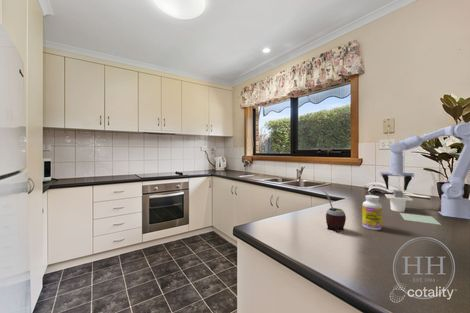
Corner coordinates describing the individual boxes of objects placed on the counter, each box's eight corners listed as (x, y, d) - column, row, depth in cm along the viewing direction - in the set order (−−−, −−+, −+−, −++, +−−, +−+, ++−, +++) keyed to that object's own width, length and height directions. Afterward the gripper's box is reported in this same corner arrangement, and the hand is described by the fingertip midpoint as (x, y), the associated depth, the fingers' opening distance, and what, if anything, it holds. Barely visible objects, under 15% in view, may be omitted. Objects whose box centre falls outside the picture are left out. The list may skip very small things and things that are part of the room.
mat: (432, 217, 96) (432, 216, 96) (441, 225, 86) (441, 224, 86) (399, 213, 102) (399, 212, 102) (404, 220, 92) (404, 219, 92)
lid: (408, 197, 109) (408, 190, 109) (412, 200, 100) (412, 193, 100) (384, 195, 114) (385, 188, 114) (387, 198, 105) (387, 191, 105)
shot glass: (409, 213, 104) (409, 199, 104) (395, 212, 104) (396, 199, 104) (399, 209, 111) (399, 196, 111) (386, 209, 111) (386, 196, 111)
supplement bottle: (362, 228, 83) (363, 197, 82) (361, 223, 89) (361, 194, 88) (383, 231, 80) (383, 198, 79) (380, 226, 85) (380, 195, 85)
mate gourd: (348, 233, 78) (348, 194, 77) (325, 232, 79) (326, 193, 79) (342, 226, 85) (342, 190, 85) (321, 225, 87) (322, 189, 86)
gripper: (381, 164, 112) (380, 189, 112) (415, 165, 105) (415, 191, 105) (379, 163, 118) (379, 187, 119) (412, 164, 111) (412, 189, 111)
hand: (396, 189), depth 112 cm, fingers open, 7 cm apart
